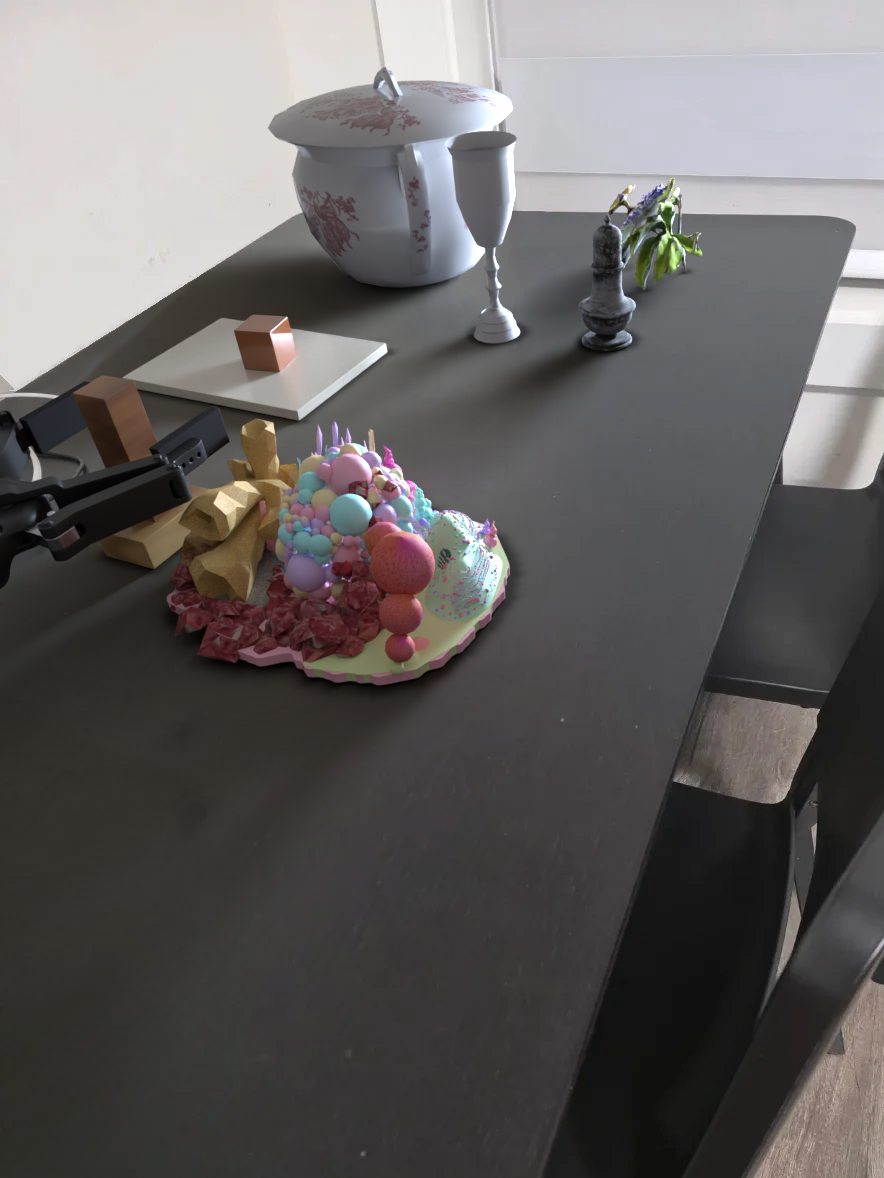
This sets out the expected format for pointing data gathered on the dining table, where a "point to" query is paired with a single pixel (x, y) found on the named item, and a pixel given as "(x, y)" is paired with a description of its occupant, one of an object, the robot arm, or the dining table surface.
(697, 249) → the passion flower
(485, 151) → the chalice
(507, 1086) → the dining table surface
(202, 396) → the tile
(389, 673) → the pastel sphere sculpture
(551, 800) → the dining table surface
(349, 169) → the chamber pot
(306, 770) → the dining table surface
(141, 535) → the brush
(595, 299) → the salt shaker
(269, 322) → the clay cube
